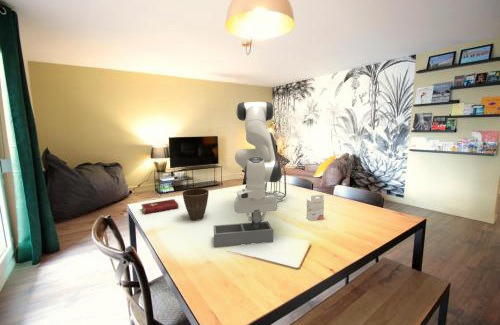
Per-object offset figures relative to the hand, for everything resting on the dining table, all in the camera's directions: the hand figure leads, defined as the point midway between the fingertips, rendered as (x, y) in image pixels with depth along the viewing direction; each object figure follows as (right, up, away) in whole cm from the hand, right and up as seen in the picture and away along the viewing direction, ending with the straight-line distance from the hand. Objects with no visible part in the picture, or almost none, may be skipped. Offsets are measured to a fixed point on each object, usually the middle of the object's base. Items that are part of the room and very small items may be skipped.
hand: (256, 220), depth 111 cm
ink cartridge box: (+35, -5, +25) cm, 44 cm away
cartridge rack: (-6, -9, 0) cm, 11 cm away
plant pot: (-35, -6, +28) cm, 45 cm away
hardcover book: (-62, -4, +44) cm, 76 cm away
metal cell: (0, -4, 0) cm, 4 cm away
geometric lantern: (+16, 0, +61) cm, 64 cm away
